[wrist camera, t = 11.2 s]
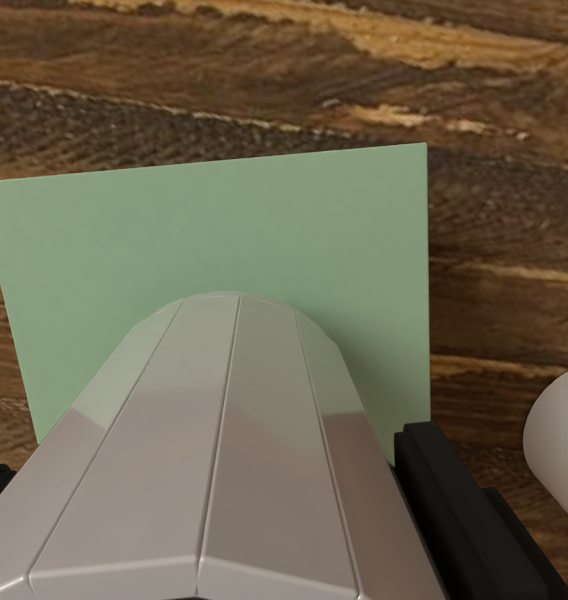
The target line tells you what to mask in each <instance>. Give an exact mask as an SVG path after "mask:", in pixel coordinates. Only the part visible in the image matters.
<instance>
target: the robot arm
mask: <svg viewBox="0 0 568 600" xmlns="http://www.w3.org/2000/svg"><path fill="white" fill-rule="evenodd" d="M394 463H395V469H396V471H397V473H398V476H399V478H400V480H401V482H402V485H403V487H404V489H405V491H406V494H407V496H408V498H409V500H410V503H411V505H412V507H413V509H414V512H415V514H416V516H417V518H418V521H419V523H420V525H421V527H422V530H423V532H424V534H425V536H426V539H427V541H428V543H429V545H430V548H431V550H432V552H433V554H434V557H435V559H436V561H437V563H438V566H439V568H440V570H441V573H442V575H443V577H444V579H445V582H446V584H447V586H448V588H449V591H450V593H451V595H452V597H453V600H568V586H567V585H566V583H565V582H564V581H563V579H562V578H561V576H560V575H559V574H558V572H557V571H556V570H555V568H554V567H553V565H552V564H551V563H550V561H549V560H548V559H547V557H546V556H545V554H544V553H543V552H542V550H541V549H540V548H539V546H538V545H537V543H536V542H535V541H534V539H533V538H532V537H531V535H530V534H529V532H528V531H527V530H526V528H525V527H524V526H523V524H522V523H521V521H520V520H519V519H518V517H517V516H516V515H515V513H514V512H513V510H512V509H511V508H510V506H509V505H508V504H507V502H506V501H505V499H504V498H503V497H502V495H501V494H500V493H499V492H498V491H497V490H496V489H494V488H492V487H490V488H480V487H479V485H478V484H477V482H476V481H475V479H474V478H473V476H472V475H471V473H470V472H469V470H468V469H467V467H466V466H465V464H464V463H463V462H462V460H461V459H460V457H459V456H458V454H457V453H456V451H455V450H454V448H453V447H452V445H451V444H450V442H449V441H448V439H447V438H446V437H445V435H444V434H443V432H442V431H441V429H440V428H439V426H438V425H437V423H436V422H435V421H426V422H416V423H406V424H404V426H403V432H395V433H394ZM16 473H17V471H14V470H13V471H11V470H10V468H9V467H8V465H6V464H0V493H1V492H2V490H3V489H4V488H5V487H6V485H7V484H8V483H9V482H10V480H11V479H12V478H13V477H14V475H15V474H16Z"/></svg>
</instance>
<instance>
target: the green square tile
mask: <svg viewBox="0 0 568 600" xmlns="http://www.w3.org/2000/svg"><path fill="white" fill-rule="evenodd" d="M0 284H1V289H2V293H3V297H4V301H5V306H6V310H7V314H8V318H9V323H10V327H11V331H12V335H13V340H14V344H15V348H16V352H17V357H18V361H19V365H20V369H21V373H22V378H23V382H24V386H25V390H26V395H27V399H28V403H29V407H30V412H31V416H32V420H33V424H34V429H35V433H36V437H37V441H38V445H39V444H40V443H41V441H42V440H43V439H44V438H45V436H46V435H47V434H48V433H49V431H50V430H51V429H52V427H53V426H54V425H55V424H56V422H57V421H58V420H59V419H60V417H61V416H62V415H63V414H64V412H65V411H66V410H67V409H68V407H69V406H70V405H71V404H72V402H73V401H74V400H75V399H76V397H77V396H78V395H79V393H80V392H81V391H82V390H83V388H84V387H85V386H86V385H87V383H88V382H89V381H90V380H91V378H92V377H93V376H94V375H95V373H96V372H97V371H98V370H99V368H100V367H101V366H102V365H103V363H104V362H105V361H106V360H107V358H108V357H109V356H110V355H111V353H112V352H113V351H114V350H115V348H116V347H117V346H118V345H119V343H120V342H121V341H122V340H123V338H124V337H125V336H126V335H127V333H128V332H129V331H130V330H131V329H132V327H134V326H135V325H136V324H138V323H139V322H141V321H142V320H143V319H144V318H146V317H147V316H148V315H150V314H151V313H153V312H155V311H156V310H158V309H160V308H161V307H163V306H165V305H167V304H170V303H172V302H174V301H176V300H179V299H182V298H185V297H189V296H192V295H196V294H201V293H208V292H214V291H238V292H248V293H254V294H258V295H262V296H267V297H270V298H273V299H275V300H278V301H281V302H283V303H286V304H288V305H289V306H291V307H293V308H295V309H297V310H299V311H301V312H302V313H304V314H305V315H306V316H308V317H309V318H311V319H312V320H313V321H315V322H316V323H317V324H318V325H319V326H320V327H321V328H322V329H323V330H324V331H325V332H326V333H327V334H328V335H329V336H330V337H331V339H332V340H333V341H334V342H335V343H336V345H337V346H338V347H339V349H340V351H341V353H342V354H343V356H344V358H345V359H346V362H347V364H348V366H349V368H350V370H351V372H352V374H353V376H354V378H355V380H356V382H357V384H358V386H359V388H360V390H361V392H362V394H363V397H364V399H365V401H366V403H367V406H368V408H369V410H370V412H371V415H372V417H373V419H374V421H375V424H376V426H377V428H378V430H379V433H380V435H381V437H382V439H383V442H384V444H385V446H386V448H387V451H388V453H389V455H390V457H391V460H392V462H393V464H394V467H395V463H394V433H395V432H403V426H404V424H406V423H416V422H426V421H430V339H429V255H428V171H427V143H414V144H403V145H392V146H380V147H369V148H358V149H346V150H335V151H324V152H312V153H301V154H290V155H278V156H267V157H255V158H244V159H233V160H221V161H210V162H199V163H187V164H176V165H165V166H153V167H142V168H130V169H119V170H108V171H96V172H85V173H74V174H62V175H51V176H40V177H28V178H17V179H6V180H0Z"/></svg>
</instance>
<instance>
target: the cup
mask: <svg viewBox="0 0 568 600" xmlns="http://www.w3.org/2000/svg"><path fill="white" fill-rule="evenodd" d="M0 600H453V597H452V595H451V593H450V591H449V588H448V586H447V584H446V582H445V579H444V577H443V575H442V573H441V570H440V568H439V566H438V563H437V561H436V559H435V557H434V554H433V552H432V550H431V548H430V545H429V543H428V541H427V539H426V536H425V534H424V532H423V530H422V527H421V525H420V523H419V521H418V518H417V516H416V514H415V512H414V509H413V507H412V505H411V503H410V500H409V498H408V496H407V494H406V491H405V489H404V487H403V485H402V482H401V480H400V478H399V476H398V473H397V471H396V469H395V467H394V464H393V462H392V460H391V457H390V455H389V453H388V451H387V448H386V446H385V444H384V442H383V439H382V437H381V435H380V433H379V430H378V428H377V426H376V424H375V421H374V419H373V417H372V415H371V412H370V410H369V408H368V406H367V403H366V401H365V399H364V397H363V394H362V392H361V390H360V388H359V386H358V384H357V382H356V380H355V378H354V376H353V374H352V372H351V370H350V368H349V366H348V364H347V362H346V359H345V358H344V356H343V354H342V353H341V351H340V349H339V347H338V346H337V345H336V343H335V342H334V341H333V340H332V339H331V337H330V336H329V335H328V334H327V333H326V332H325V331H324V330H323V329H322V328H321V327H320V326H319V325H318V324H317V323H316V322H315V321H313V320H312V319H311V318H309V317H308V316H306V315H305V314H304V313H302V312H301V311H299V310H297V309H295V308H293V307H291V306H289V305H288V304H286V303H283V302H281V301H278V300H275V299H273V298H270V297H267V296H262V295H258V294H254V293H248V292H238V291H214V292H208V293H201V294H196V295H192V296H189V297H185V298H182V299H179V300H176V301H174V302H172V303H170V304H167V305H165V306H163V307H161V308H160V309H158V310H156V311H155V312H153V313H151V314H150V315H148V316H147V317H146V318H144V319H143V320H142V321H141V322H139V323H138V324H136V325H135V326H134V327H132V329H131V330H130V331H129V332H128V333H127V335H126V336H125V337H124V338H123V340H122V341H121V342H120V343H119V345H118V346H117V347H116V348H115V350H114V351H113V352H112V353H111V355H110V356H109V357H108V358H107V360H106V361H105V362H104V363H103V365H102V366H101V367H100V368H99V370H98V371H97V372H96V373H95V375H94V376H93V377H92V378H91V380H90V381H89V382H88V383H87V385H86V386H85V387H84V388H83V390H82V391H81V392H80V393H79V395H78V396H77V397H76V399H75V400H74V401H73V402H72V404H71V405H70V406H69V407H68V409H67V410H66V411H65V412H64V414H63V415H62V416H61V417H60V419H59V420H58V421H57V422H56V424H55V425H54V426H53V427H52V429H51V430H50V431H49V433H48V434H47V435H46V436H45V438H44V439H43V440H42V441H41V443H40V444H39V445H38V446H37V448H36V449H35V450H34V451H33V453H32V454H31V455H30V456H29V458H28V459H27V460H26V461H25V463H24V464H23V465H22V467H21V468H20V469H19V470H18V472H17V473H16V474H15V475H14V477H13V478H12V479H11V480H10V482H9V483H8V484H7V485H6V487H5V488H4V489H3V490H2V492H1V493H0Z"/></svg>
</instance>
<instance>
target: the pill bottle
mask: <svg viewBox="0 0 568 600" xmlns="http://www.w3.org/2000/svg"><path fill="white" fill-rule="evenodd" d="M523 448H524V455H525V459H526V461H527V464H528V466H529V468H530V470H531V471H532V473H533V474H534V476H535V477H536V478H537V480H538V481H539V482H540V483H541V484H542V485H543V487H544V488H545V489H546V490H547V491H548V492H549V493H550V495H551V496H552V497H553V498H554V499H555V500H556V501H557V502H558V504H559V505H560V506H561V507H562V508H563V509H564V510H565V512H566V513H567V514H568V372H566V373H565V374H563V375H561V376H560V377H558V378H557V379H556V380H555V381H553V382H552V383H551V384H550V385H549V386H548V387H547V388H546V389H545V390H544V391H543V392H542V394H541V395H540V396H539V398H538V399H537V400H536V401H535V403H534V405H533V407H532V409H531V411H530V413H529V415H528V417H527V421H526V424H525V427H524V434H523Z"/></svg>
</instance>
